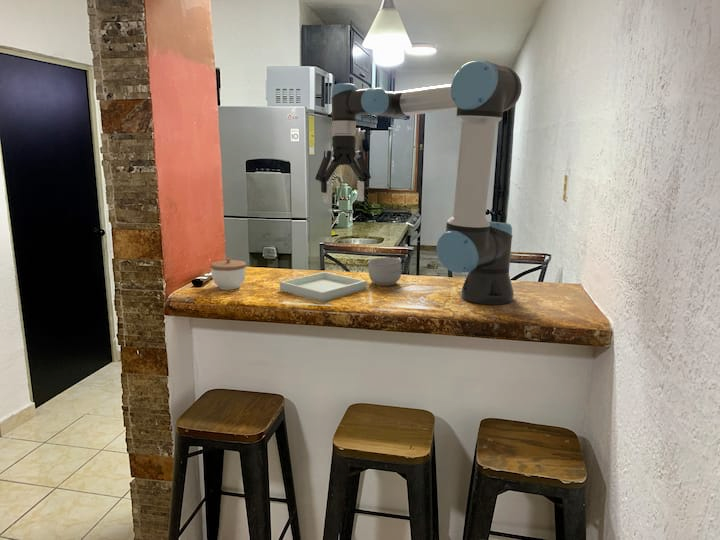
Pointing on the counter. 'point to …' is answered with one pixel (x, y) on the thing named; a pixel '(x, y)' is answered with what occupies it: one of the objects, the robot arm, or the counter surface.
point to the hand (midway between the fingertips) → (343, 202)
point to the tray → (323, 286)
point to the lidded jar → (228, 273)
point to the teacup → (384, 270)
